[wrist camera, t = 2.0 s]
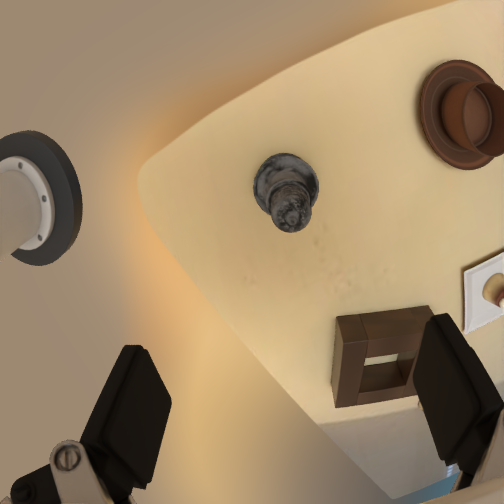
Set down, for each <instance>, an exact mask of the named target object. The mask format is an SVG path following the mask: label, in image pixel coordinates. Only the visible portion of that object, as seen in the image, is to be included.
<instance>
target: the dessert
mask: <svg viewBox="0 0 504 504" xmlns="http://www.w3.org/2000/svg"><path fill="white" fill-rule="evenodd" d="M464 289H465V335H467V334H469V333H471V332H472V331H474V330H476V329H478V328H480V327H482V326H484V325H486V324H488V323H490V322H492V321H493V320H495V319H497V318H499V317H501V316H502V315H504V252H503V253H501V254H499V255H497V256H495V257H493V258H491V259H489V260H487V261H485V262H483V263H481V264H479V265H477V266H475V267H473V268H471V269H469V270H467V271H465V272H464Z"/></svg>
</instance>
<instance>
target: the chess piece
mask: <svg viewBox="0 0 504 504" xmlns="http://www.w3.org/2000/svg"><path fill="white" fill-rule="evenodd" d="M253 190H254V196H255V199H256V201H257V203H258V205H259V206H260V207H261V209H262V210H263V211H265V212H266V213H267V214H269V215H271V217H272V220H273V222H274V224H275V225H276V226H277V227H278V228H279V229H280V230H282V231H284V232H289V233H292V232H297V231H300V230H302V229H303V228H305V227H306V226H307V224H308V223H309V221H310V219H311V214H312V210H311V207H312V206H313V205H314V203H315V201H316V199H317V197H318V192H319V182H318V179H317V176H316V173H315V172H314V170H313V169H312V168H311V166H310V165H308V164H307V163H306V162H305V161H303V160H301V159H300V158H299V157H297V156H295V155H293V154H287V153H282V154H276V155H274V156H271V157H270V158H268V159H267V160H266V161H265V162H264V163H263V164H262V166H261V168H260V169H259V170H258V172H257V174H256V177H255V179H254V185H253Z"/></svg>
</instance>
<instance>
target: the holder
mask: <svg viewBox="0 0 504 504" xmlns="http://www.w3.org/2000/svg"><path fill="white" fill-rule="evenodd" d="M431 316H434V314H433V312H432V310H431V309H430V307H429V306H421V307H414V308H406V309H399V310H391V311H383V312H375V313H366V314H358V315H348V316H338V317H336V331H335V344H334V356H333V367H332V377H331V386H332V392H333V398H334V404H335V408H341V407H349V406H355V405H356V406H357V405H364V404H370V403H376V402H382V401H388V400H393V399H399V398H404V397H409V396H414V395H417V392H416V389H415V387H414V384H413V372H414V368H415V365H416V361H417V357H418V353H419V350H420V346H421V341H422V337H423V333H424V329H425V324H426V322H427V321H429V320H430V318H431ZM397 353H399V354H398V358H397V361H395V362H389V363H383V364H376V365H369V366H364V362H365V358H371V357H378V356H385V355H391V354H397Z"/></svg>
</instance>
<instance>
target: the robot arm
mask: <svg viewBox="0 0 504 504" xmlns="http://www.w3.org/2000/svg"><path fill="white" fill-rule="evenodd" d="M54 221H55V205H54V199H53V194H52V191H51V188H50V186H49V183H48V181H47V179H46V177H45V175H44V174H43V173H42V171H41V170H40V168H39V167H38V166H37V165H35V164H34V163H33V162H32V161H30V160H29V159H27V158H24V157H22V156H13V157H9V158H7V159H4V160H2V161H1V162H0V262H1V261H3V260H4V259H5V258H6V257H7V256H8V255H10V254H11V253H13V252H14V251H15V250H16V249H18V248H20V249H24V250H32V249H36V248H37V247H39V246H41V245H42V244H43V243H44V242H45V241H46V240H47V239H48V238H49V236H50V234H51V232H52V230H53V226H54ZM413 384H414V387H415V389H416V392H417V395H418V397H419V400H420V403H421V405H422V408H423V411H424V414H425V416H426V419H427V422H428V425H429V428H430V431H431V434H432V437H433V440H434V443H435V446H436V449H437V452H438V455H439V458H440V459H441V460H445V464H446V466H449V465H452V464H455V463H458V466H459V469H460V472H459V474H458V477H457V479H456V481H455V483H454V485H453V487H452V489H451V491H450V493H449V494H447V495H445V496H442V497H439V498H436V499H432V500H429V501H426V502H422V503H419V504H504V402H503V400H502V398H501V396H500V394H499V393H498V391H497V389H496V387H495V385H494V383H493V382H492V380H491V378H490V376H489V375H488V373H487V371H486V369H485V368H484V366H483V364H482V363H481V361H480V359H479V358H478V356H477V354H476V353H475V351H474V350H473V348H472V347H470V346H469V345H468V343H467V341H466V340H465V338H464V337H463V335H462V333H461V332H460V330H459V329H458V327H457V326H456V324H455V323H454V321H453V320H452V318H451V317H450V315H449V314H448V313H444V314H439V315H434V316H431V318H430V320H429V321H427V322H426V324H425V329H424V333H423V337H422V341H421V346H420V350H419V353H418V357H417V361H416V365H415V368H414V372H413ZM171 405H172V402H171V397H170V395H169V393H168V391H167V389H166V387H165V385H164V383H163V381H162V379H161V377H160V375H159V373H158V371H157V369H156V367H155V365H154V363H153V361H152V359H151V357H150V354H149V352H148V351H147V350H146V349H144V348H143V347H142V346H141V345H125V346H124V347H123V349H122V351H121V353H120V355H119V357H118V359H117V361H116V363H115V365H114V367H113V369H112V371H111V373H110V375H109V377H108V379H107V381H106V383H105V386H104V388H103V390H102V392H101V394H100V396H99V398H98V400H97V403H96V405H95V407H94V409H93V411H92V413H91V416H90V418H89V420H88V423H87V425H86V427H85V429H84V432H83V434H82V436H81V439H80V442H77V441H74V440H66V441H62V442H61V443H59V444H57V446H55V447H54V449H53V450H52V452H51V455H50V464H48V465H46V466H44V467H42V468H40V469H38V470H35V471H34V472H31V473H29V474H27V475H25V476H23V477H21V478H19V479H17V480H16V481H15V482H14V484H13V485H12V488H11V493H10V495H11V498H9V497H8V496H7V497H5V498H4V499H3V500H2V501H1V502H0V504H136V502H135V500H134V499H133V497H132V495H131V493H132V489H133V487H135V488H140V489H146V486H147V483H150V482H151V481H152V477H153V473H154V469H155V465H156V462H157V458H158V454H159V450H160V446H161V442H162V439H163V435H164V431H165V427H166V424H167V420H168V416H169V413H170V409H171Z"/></svg>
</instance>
